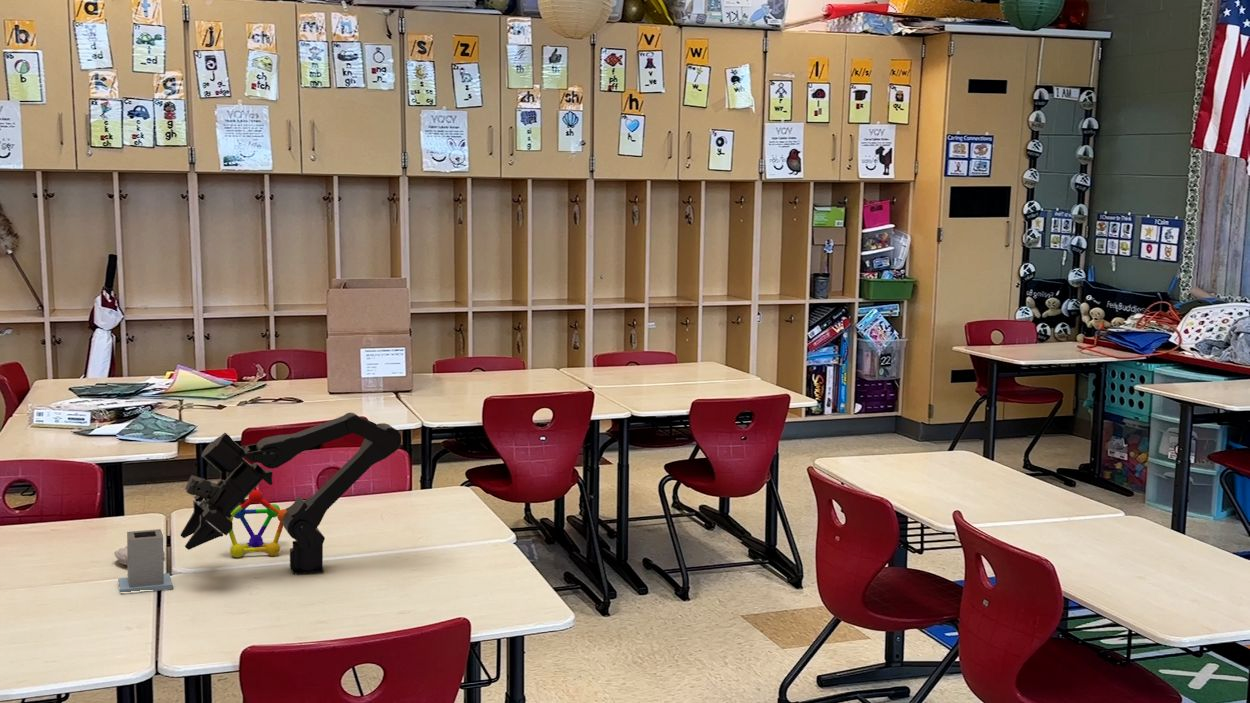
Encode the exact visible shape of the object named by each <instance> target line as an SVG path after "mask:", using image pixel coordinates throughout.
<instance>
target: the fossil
mask: <svg viewBox="0 0 1250 703" xmlns="http://www.w3.org/2000/svg"><path fill="white" fill-rule="evenodd" d="M165 555H166V554H165V551H164V550H163V557H164V556H165ZM114 557H115V558H116V559H117V560H118V562H119V563H120V564H122V565H125V566H128V563H127V545H126V546H125V547H124V548H123V547H122V548H119V549H118V550H115V551H114Z"/></svg>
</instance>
